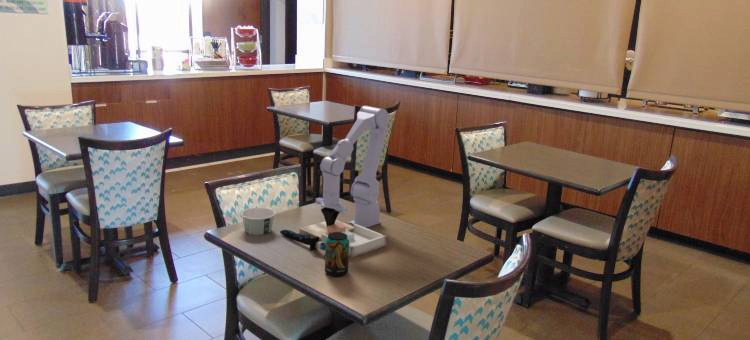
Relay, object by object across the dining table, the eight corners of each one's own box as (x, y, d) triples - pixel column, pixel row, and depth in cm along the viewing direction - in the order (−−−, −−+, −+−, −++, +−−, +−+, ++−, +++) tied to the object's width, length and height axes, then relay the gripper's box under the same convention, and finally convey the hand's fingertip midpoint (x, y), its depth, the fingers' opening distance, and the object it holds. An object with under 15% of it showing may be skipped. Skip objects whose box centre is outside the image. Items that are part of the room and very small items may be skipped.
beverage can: (329, 279, 166) (330, 241, 163) (321, 269, 172) (322, 232, 169) (351, 275, 169) (352, 238, 166) (343, 266, 175) (344, 230, 172)
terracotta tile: (336, 228, 201) (337, 223, 200) (345, 232, 198) (345, 226, 197) (327, 231, 198) (327, 226, 197) (335, 235, 195) (336, 229, 194)
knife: (341, 257, 179) (340, 243, 178) (333, 259, 177) (333, 245, 176) (286, 237, 201) (285, 225, 200) (279, 239, 199) (278, 227, 198)
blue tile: (345, 235, 198) (345, 230, 198) (354, 239, 195) (354, 233, 194) (335, 238, 195) (336, 233, 194) (344, 242, 192) (344, 236, 191)
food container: (234, 228, 202) (234, 211, 200) (264, 222, 210) (264, 205, 208) (252, 239, 193) (252, 221, 192) (281, 231, 201) (282, 214, 199)
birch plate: (333, 223, 211) (333, 218, 210) (355, 233, 203) (355, 227, 202) (299, 233, 200) (299, 228, 199) (321, 243, 192) (321, 238, 191)
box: (355, 233, 203) (355, 223, 202) (385, 245, 193) (386, 235, 192) (321, 243, 192) (321, 234, 191) (351, 257, 182) (351, 247, 181)
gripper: (309, 188, 198) (308, 224, 202) (336, 198, 189) (335, 236, 192) (324, 184, 203) (323, 220, 207) (351, 194, 193) (350, 231, 197)
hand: (330, 227), depth 200 cm, fingers closed
